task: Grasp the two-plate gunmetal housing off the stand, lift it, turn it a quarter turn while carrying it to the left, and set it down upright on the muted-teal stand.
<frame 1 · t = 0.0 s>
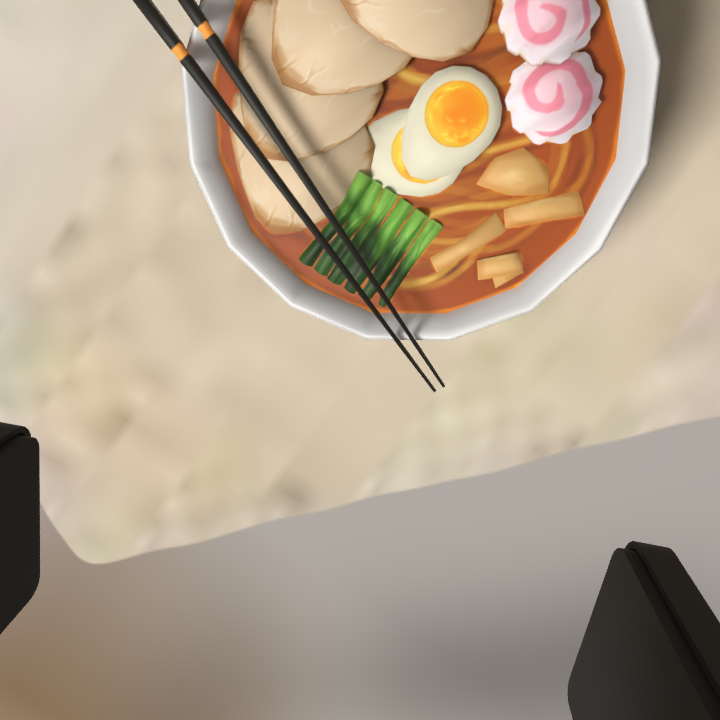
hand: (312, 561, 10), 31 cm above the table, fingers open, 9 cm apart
ramen bowl: (413, 122, 37), on the table
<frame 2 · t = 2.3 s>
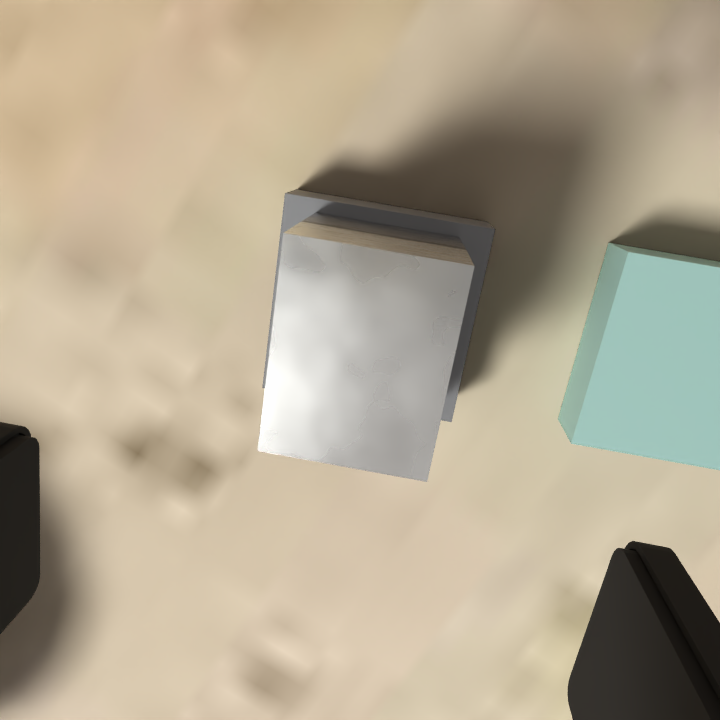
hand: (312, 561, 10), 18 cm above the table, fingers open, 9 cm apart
stand b: (674, 351, 27), on the table
housing: (372, 313, 25), point 2 cm above the table, touching stand a
stand a: (375, 298, 27), on the table
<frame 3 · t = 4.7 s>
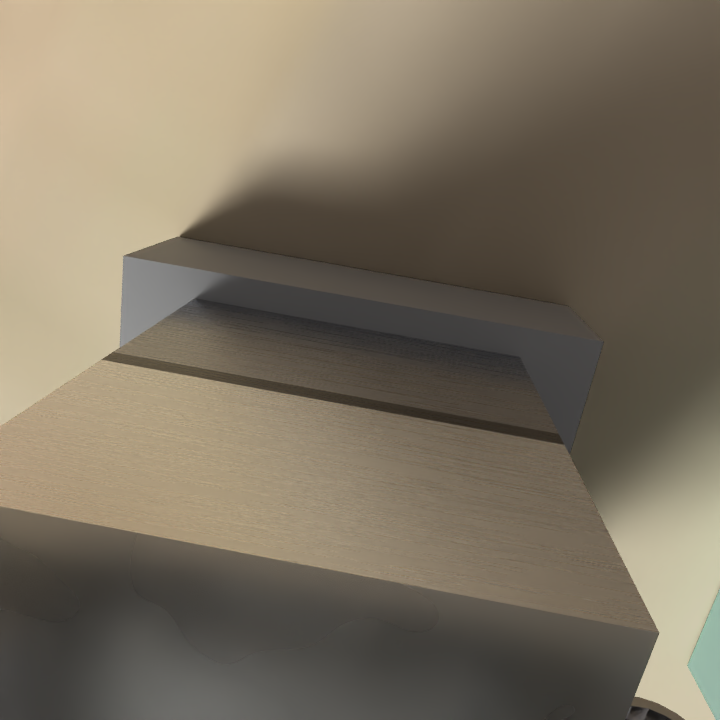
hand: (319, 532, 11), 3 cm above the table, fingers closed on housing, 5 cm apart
housing: (326, 507, 12), point 2 cm above the table, touching gripper, stand a
stand a: (341, 447, 14), on the table
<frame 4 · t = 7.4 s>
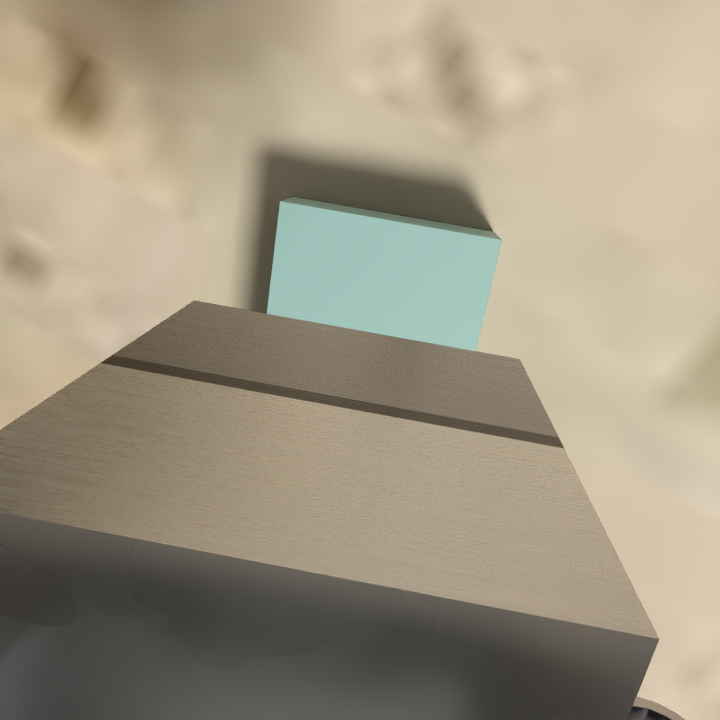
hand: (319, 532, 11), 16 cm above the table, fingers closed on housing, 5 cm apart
stand b: (375, 311, 26), on the table
housing: (325, 510, 12), point 15 cm above the table, touching gripper
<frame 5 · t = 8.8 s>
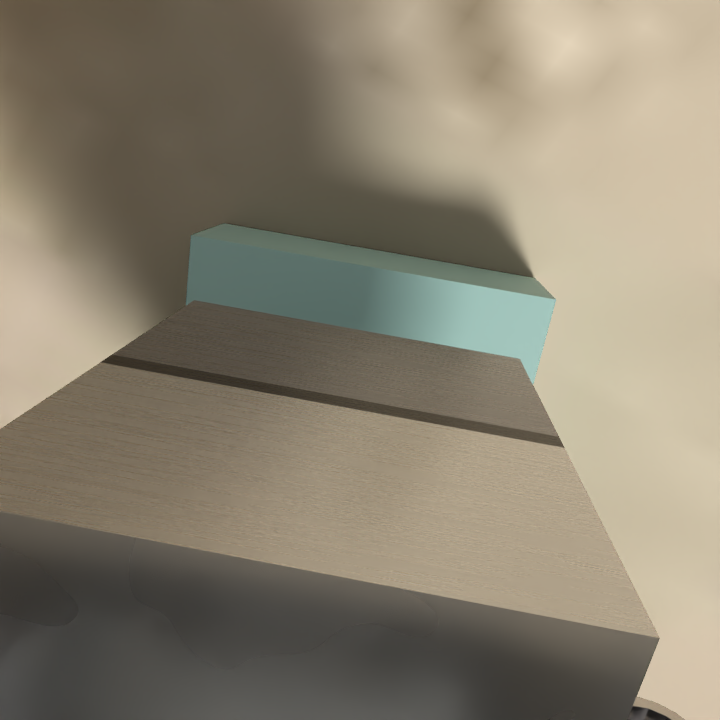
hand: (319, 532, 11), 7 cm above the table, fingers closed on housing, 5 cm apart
stand b: (353, 395, 17), on the table
housing: (325, 509, 12), point 6 cm above the table, touching gripper
when the fingers open (4 cm above the table, at t = 10.2 s): housing drops 1 cm, resting on stand b.
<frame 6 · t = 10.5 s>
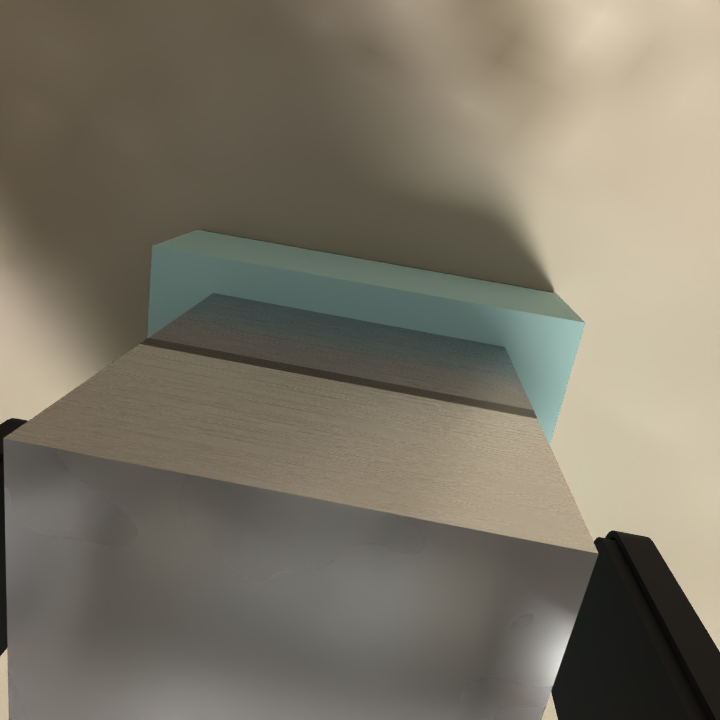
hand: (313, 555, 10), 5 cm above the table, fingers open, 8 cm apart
stand b: (347, 425, 15), on the table
housing: (329, 483, 13), point 2 cm above the table, touching stand b
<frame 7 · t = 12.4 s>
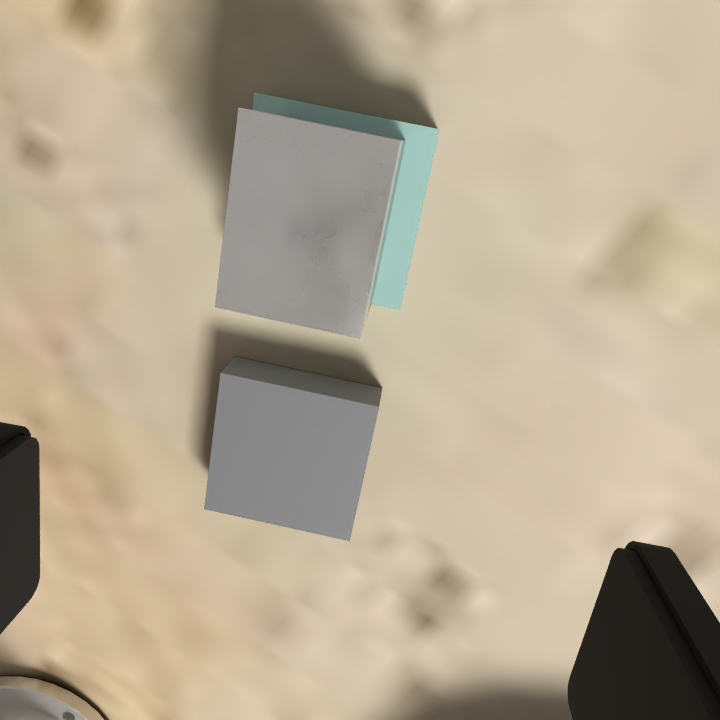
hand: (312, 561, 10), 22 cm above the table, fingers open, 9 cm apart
stand b: (337, 200, 30), on the table
housing: (328, 210, 28), point 2 cm above the table, touching stand b
stand a: (296, 438, 35), on the table
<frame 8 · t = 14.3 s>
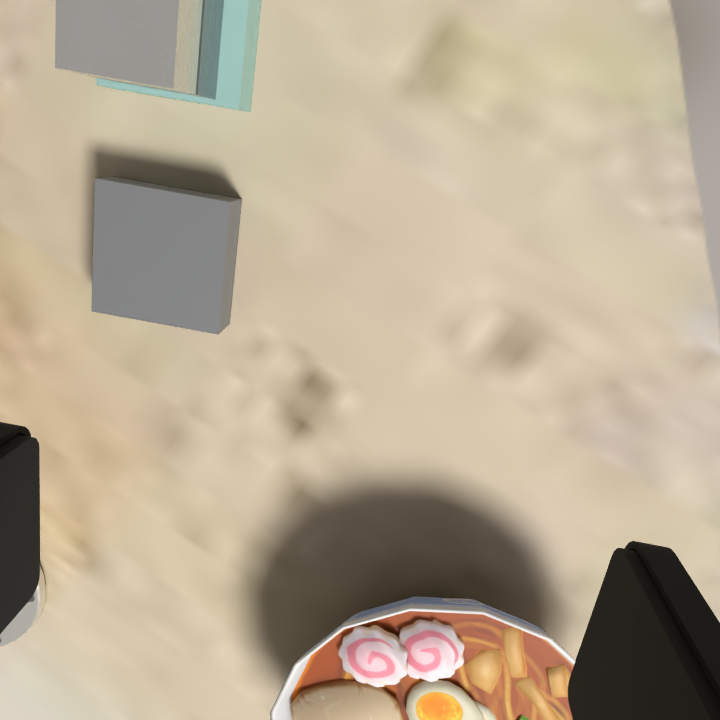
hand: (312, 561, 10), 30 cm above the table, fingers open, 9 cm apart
ramen bowl: (436, 662, 48), on the table
stand b: (188, 25, 36), on the table
housing: (170, 20, 33), point 2 cm above the table, touching stand b
stand a: (173, 252, 40), on the table
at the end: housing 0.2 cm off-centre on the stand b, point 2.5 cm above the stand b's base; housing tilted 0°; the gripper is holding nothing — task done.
